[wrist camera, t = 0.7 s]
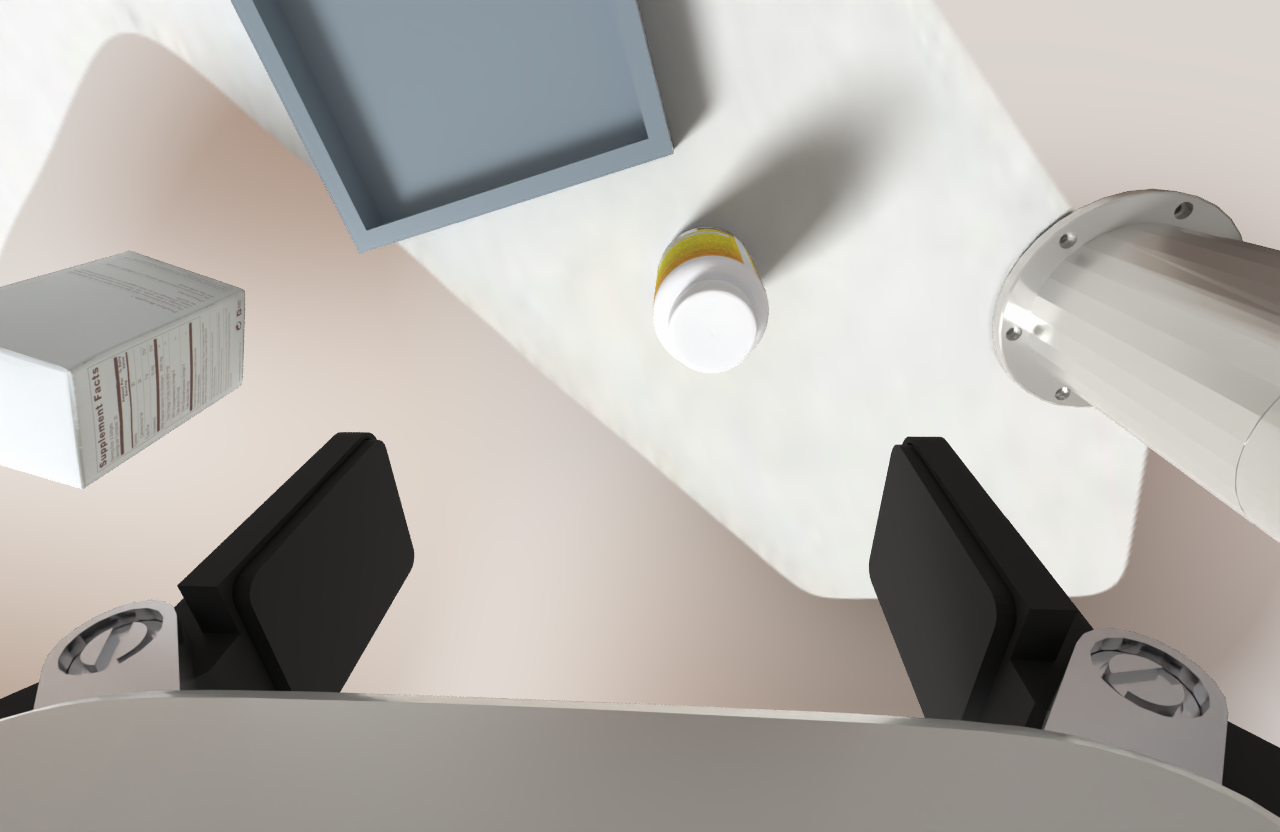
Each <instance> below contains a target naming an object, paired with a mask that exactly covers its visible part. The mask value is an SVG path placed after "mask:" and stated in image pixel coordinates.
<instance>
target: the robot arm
mask: <svg viewBox="0 0 1280 832" xmlns="http://www.w3.org/2000/svg"><path fill="white" fill-rule="evenodd" d="M1062 236H1063V238H1062V239H1061V237H1062ZM1060 239H1061V240H1060ZM1009 329H1010V330H1009ZM1008 330H1009V331H1008ZM992 337H993V342H994V347H995V352H996V355H997V357H998V359H999V361H1000V364H1001V366H1002V368H1003V369H1004V370H1005V372H1006V373H1007V374H1008V375H1009V376H1010V377H1011V379H1012V380H1013V381H1014V382H1015V383H1017V384H1018V385H1019V386H1020V387H1022V388H1023V389H1024V390H1025V391H1026V392H1028V393H1030V394H1031V395H1033V396H1035V397H1037V398H1039V399H1040V400H1043V401H1046V402H1049V403H1052V404H1055V405H1060V406H1069V407H1095V408H1096V409H1098V410H1099V411H1100V412H1102V413H1103V414H1105V415H1106V416H1107V417H1109V418H1110V419H1111V420H1113V421H1114V422H1115V423H1117V424H1118V425H1119V426H1121V427H1122V428H1124V429H1125V430H1126V431H1128V432H1129V433H1130V434H1132V435H1133V436H1134V437H1136V438H1137V439H1138V440H1140V441H1141V442H1143V443H1144V444H1145V445H1147V446H1148V447H1149V448H1151V449H1152V450H1153V451H1155V452H1156V453H1157V454H1159V455H1160V456H1162V457H1163V458H1164V459H1166V460H1167V461H1168V462H1170V463H1171V464H1173V465H1174V466H1175V467H1176V468H1178V469H1179V470H1181V471H1182V472H1183V473H1185V474H1186V475H1187V476H1189V477H1190V478H1192V479H1193V480H1194V481H1195V482H1197V483H1198V484H1199V485H1201V486H1202V487H1204V488H1205V489H1206V490H1208V491H1209V492H1211V493H1212V494H1213V495H1214V496H1216V497H1217V498H1218V499H1220V500H1221V501H1222V502H1224V503H1225V504H1227V505H1228V506H1229V507H1231V508H1232V509H1233V510H1235V511H1236V512H1238V513H1239V514H1240V515H1242V516H1243V517H1244V518H1246V519H1247V520H1248V521H1250V522H1251V523H1252V524H1254V525H1255V526H1257V527H1258V528H1260V529H1261V530H1262V531H1264V532H1265V533H1267V534H1268V535H1269V536H1271V537H1272V538H1274V539H1275V540H1276V541H1278V542H1279V543H1280V251H1279V250H1275V249H1271V248H1267V247H1263V246H1259V245H1255V244H1251V243H1247V242H1243V241H1242V237H1241V234H1240V232H1239V231H1238V229H1237V228H1236V226H1235V224H1234V223H1233V221H1232V219H1231V218H1230V217H1229V216H1228V215H1227V214H1225V213H1224V212H1223V211H1222V210H1221V209H1220V208H1219V207H1218V206H1216V205H1215V204H1213V203H1210V202H1208V201H1206V200H1204V199H1202V198H1200V197H1198V196H1194V195H1190V194H1185V193H1181V192H1177V191H1168V190H1158V189H1147V190H1136V191H1127V192H1123V193H1120V194H1116V195H1112V196H1108V197H1105V198H1102V199H1100V200H1098V201H1095V202H1093V203H1091V204H1088V205H1086V206H1084V207H1081V208H1079V209H1078V210H1076V211H1074V212H1073V213H1071V214H1070V215H1068V216H1066V217H1065V218H1063V219H1062V220H1060V221H1058V222H1057V223H1055V224H1054V225H1053V226H1052V227H1051V228H1050V229H1048V230H1047V231H1046V232H1045V233H1044V234H1042V235H1041V236H1040V237H1039V238H1038V239H1036V241H1035V242H1034V243H1033V244H1032V245H1031V246H1030V247H1029V248H1028V249H1027V251H1026V252H1025V253H1024V254H1023V255H1022V256H1021V257H1020V258H1019V260H1018V261H1017V263H1016V265H1015V266H1014V268H1013V269H1012V271H1011V272H1010V274H1009V275H1008V277H1007V278H1006V281H1005V283H1004V285H1003V287H1002V290H1001V292H1000V294H999V296H998V299H997V303H996V307H995V311H994V315H993V331H992ZM413 562H414V549H413V545H412V542H411V538H410V534H409V531H408V527H407V524H406V520H405V516H404V512H403V509H402V505H401V501H400V497H399V494H398V490H397V487H396V483H395V479H394V475H393V472H392V468H391V464H390V461H389V457H388V453H387V450H386V447H385V444H384V443H383V442H382V441H380V440H377V439H376V437H375V436H374V435H373V434H371V433H363V432H362V433H360V432H353V433H352V432H341V433H337V434H336V435H334V436H333V437H332V438H331V439H330V440H329V441H328V442H327V443H326V444H325V445H324V446H323V447H322V448H321V449H320V450H319V451H318V452H317V453H315V454H314V455H313V456H312V457H311V458H310V459H309V460H308V461H307V462H306V463H305V464H304V465H303V466H302V467H301V468H300V469H299V470H298V471H297V472H296V473H295V474H293V476H291V477H290V478H289V479H288V480H287V481H286V482H285V483H284V484H283V485H282V486H281V487H280V488H279V489H278V490H277V491H276V492H275V493H274V494H273V495H271V496H270V497H269V498H268V499H267V500H266V501H265V502H264V503H263V504H262V505H261V506H260V507H259V508H258V509H257V510H256V511H255V512H254V513H253V514H252V515H251V516H250V517H248V518H247V519H246V520H245V521H244V522H243V523H242V524H241V525H240V526H239V527H238V528H237V529H236V530H235V531H234V532H233V533H232V534H231V535H230V536H229V537H228V538H227V539H225V540H224V541H223V542H222V543H221V544H220V545H219V546H218V547H217V548H216V549H215V550H214V551H213V552H212V553H211V554H210V555H209V556H208V557H207V558H206V559H205V560H203V561H202V562H201V563H200V564H199V565H198V566H197V567H196V568H195V569H194V570H193V571H192V572H191V573H190V574H189V575H188V576H187V577H186V578H185V579H184V580H183V581H182V582H181V583H179V584H178V588H179V590H180V591H181V593H182V595H183V597H184V598H183V599H182V600H181V601H180V602H179V603H178V604H177V606H175V607H173V606H172V605H170V604H168V603H166V602H164V601H155V600H147V601H140V602H133V603H130V604H127V605H123V606H120V607H117V608H114V609H112V610H109V611H107V612H105V613H103V614H101V615H98V616H96V617H94V618H92V619H91V620H89V621H87V622H86V623H84V624H82V625H81V626H79V627H77V628H76V629H74V630H73V631H72V632H71V633H70V634H68V635H67V636H66V637H64V638H63V639H62V640H61V641H60V642H59V643H58V644H57V645H56V646H55V647H54V648H53V650H52V651H51V652H50V653H49V654H48V656H47V658H46V660H45V662H44V664H43V667H42V671H41V676H40V680H39V682H38V683H36V684H34V685H31V686H29V687H27V688H24V689H22V690H20V691H18V692H15V693H13V694H11V695H9V696H6V697H4V698H2V699H0V832H1280V748H1279V747H1277V746H1275V745H1273V744H1271V743H1269V742H1267V741H1265V740H1263V739H1261V738H1260V737H1258V736H1256V735H1254V734H1252V733H1250V732H1248V731H1246V730H1244V729H1242V728H1240V727H1238V726H1236V725H1234V724H1232V723H1230V722H1228V721H1227V719H1228V709H1227V704H1226V699H1225V696H1224V695H1223V693H1222V692H1221V690H1220V689H1219V687H1218V686H1217V684H1216V683H1215V681H1214V680H1213V679H1212V678H1211V677H1210V676H1209V675H1208V674H1207V673H1206V672H1205V671H1204V670H1203V669H1202V668H1201V667H1200V666H1199V665H1197V664H1196V663H1194V662H1193V661H1192V660H1190V659H1189V658H1187V657H1186V656H1185V655H1183V654H1181V653H1180V652H1179V651H1177V650H1175V649H1173V648H1171V647H1169V646H1167V645H1166V644H1164V643H1162V642H1160V641H1158V640H1156V639H1153V638H1150V637H1147V636H1144V635H1141V634H1139V633H1136V632H1131V631H1126V630H1120V629H1115V628H1109V629H1107V628H1106V629H1095V630H1094V629H1093V628H1092V627H1091V625H1090V624H1089V623H1088V622H1087V620H1086V619H1085V618H1084V617H1083V615H1082V614H1081V613H1080V611H1079V610H1078V609H1077V608H1076V606H1075V605H1074V604H1073V602H1072V601H1071V600H1070V598H1069V597H1068V596H1067V595H1066V593H1065V592H1064V591H1063V589H1062V588H1061V587H1060V586H1059V584H1058V583H1057V582H1056V580H1055V579H1054V578H1053V577H1052V575H1051V574H1050V573H1049V572H1048V570H1047V569H1046V568H1045V566H1044V565H1043V564H1042V563H1041V561H1040V560H1039V559H1038V557H1037V556H1036V555H1035V554H1034V552H1033V551H1032V550H1031V548H1030V547H1029V546H1028V545H1027V543H1026V542H1025V541H1024V539H1023V538H1022V537H1021V536H1020V534H1019V533H1018V532H1017V530H1016V529H1015V528H1014V527H1013V525H1012V524H1011V523H1010V521H1009V520H1008V519H1007V518H1006V517H1005V516H1004V514H1003V513H1002V512H1001V511H1000V509H999V508H998V507H997V505H996V504H995V503H994V502H993V500H992V499H991V498H990V496H989V495H988V494H987V493H986V491H985V490H984V489H983V487H982V486H981V485H980V484H979V482H978V481H977V480H976V478H975V477H974V476H973V475H972V473H971V472H970V471H969V469H968V468H967V467H966V466H965V464H964V463H963V462H962V460H961V459H960V458H959V457H958V455H957V454H956V453H955V451H954V450H953V449H952V448H951V446H950V445H949V444H948V442H947V441H946V440H945V439H944V438H943V437H907V438H905V440H904V442H903V444H902V445H895V446H894V447H893V449H892V453H891V457H890V462H889V467H888V472H887V477H886V482H885V487H884V491H883V496H882V501H881V506H880V511H879V516H878V521H877V526H876V530H875V535H874V540H873V545H872V550H871V555H870V560H869V573H870V579H871V582H872V584H873V587H874V590H875V592H876V595H877V597H878V600H879V602H880V605H881V607H882V610H883V612H884V615H885V617H886V620H887V622H888V625H889V628H890V630H891V633H892V635H893V638H894V640H895V643H896V645H897V648H898V650H899V653H900V655H901V658H902V661H903V663H904V666H905V668H906V671H907V673H908V676H909V678H910V681H911V683H912V686H913V688H914V691H915V694H916V696H917V699H918V701H919V704H920V706H921V709H922V711H923V714H924V716H925V718H916V717H899V716H883V715H867V714H851V713H832V712H810V711H788V710H767V709H744V708H743V709H742V708H722V707H701V706H678V705H656V704H631V703H607V702H583V701H558V700H557V701H555V700H531V699H507V698H480V697H453V696H451V697H450V696H424V695H395V694H394V695H393V694H365V693H340V691H341V690H342V688H343V686H344V685H345V683H346V681H347V679H348V677H349V676H350V674H351V672H352V671H353V669H354V667H355V666H356V664H357V662H358V660H359V659H360V657H361V655H362V654H363V652H364V650H365V648H366V647H367V645H368V643H369V641H370V640H371V638H372V636H373V635H374V633H375V631H376V629H377V628H378V626H379V624H380V623H381V621H382V619H383V617H384V616H385V614H386V612H387V610H388V609H389V607H390V605H391V604H392V602H393V600H394V598H395V596H396V595H397V593H398V591H399V590H400V588H401V586H402V585H403V583H404V581H405V579H406V578H407V576H408V574H409V573H410V571H411V568H412V566H413Z"/></svg>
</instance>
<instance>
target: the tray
mask: <svg viewBox="0 0 1280 832" xmlns="http://www.w3.org/2000/svg"><path fill="white" fill-rule="evenodd" d="M231 2H232V4H233V6H234V8H235V10H236V12H237V14H238V16H239V18H240V20H241V22H242V24H243V26H244V28H245V30H246V32H247V34H248V36H249V37H250V39H251V41H252V43H253V45H254V47H255V49H256V51H257V53H258V55H259V57H260V59H261V61H262V63H263V65H264V67H265V69H266V71H267V73H268V75H269V77H270V79H271V81H272V83H273V85H274V87H275V89H276V91H277V92H278V94H279V96H280V98H281V100H282V102H283V104H284V106H285V108H286V110H287V112H288V114H289V116H290V118H291V120H292V122H293V124H294V126H295V128H296V130H297V132H298V134H299V136H300V138H301V140H302V142H303V144H304V146H305V147H306V149H307V151H308V153H309V155H310V157H311V159H312V161H313V163H314V165H315V167H316V169H317V171H318V173H319V175H320V177H321V179H322V181H323V183H324V185H325V187H326V189H327V191H328V192H329V195H330V197H331V199H332V200H333V203H334V204H335V206H336V208H337V210H338V212H339V214H340V216H341V218H342V220H343V222H344V224H345V226H346V228H347V230H348V232H349V234H350V236H351V238H352V240H353V242H354V244H355V246H356V248H357V250H358V252H359V253H363V252H367V251H370V250H373V249H376V248H379V247H382V246H385V245H388V244H391V243H395V242H398V241H401V240H404V239H407V238H410V237H414V236H417V235H420V234H423V233H426V232H429V231H432V230H436V229H439V228H442V227H445V226H448V225H451V224H454V223H458V222H461V221H464V220H467V219H470V218H473V217H476V216H480V215H483V214H486V213H489V212H492V211H495V210H498V209H501V208H505V207H508V206H511V205H514V204H517V203H520V202H523V201H527V200H530V199H533V198H536V197H539V196H542V195H545V194H549V193H552V192H555V191H558V190H561V189H564V188H567V187H571V186H574V185H577V184H580V183H583V182H586V181H589V180H593V179H596V178H599V177H602V176H605V175H608V174H611V173H614V172H618V171H621V170H624V169H627V168H630V167H633V166H636V165H640V164H643V163H646V162H649V161H652V160H655V159H658V158H662V157H665V156H668V155H671V154H673V153H674V148H673V144H672V139H671V135H670V131H669V127H668V123H667V119H666V115H665V111H664V107H663V103H662V99H661V95H660V91H659V87H658V83H657V79H656V75H655V71H654V67H653V63H652V59H651V54H650V50H649V46H648V42H647V38H646V34H645V30H644V26H643V22H642V18H641V14H640V10H639V6H638V2H637V0H231Z"/></svg>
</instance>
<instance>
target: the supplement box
mask: <svg viewBox="0 0 1280 832" xmlns="http://www.w3.org/2000/svg"><path fill="white" fill-rule="evenodd" d="M244 319H245V291H244V290H243V289H241V288H238V287H235V286H232V285H229V284H226V283H223V282H221V281H217V280H214V279H212V278H209V277H206V276H203V275H200V274H197V273H194V272H191V271H188V270H185V269H182V268H179V267H176V266H173V265H170V264H167V263H164V262H161V261H158V260H155V259H152V258H150V257H147V256H144V255H141V254H138V253H135V252H132V251H127V252H125V253H121V254H117V255H114V256H110V257H107V258H103V259H99V260H95V261H92V262H89V263H85V264H81V265H78V266H74V267H71V268H68V269H63V270H60V271H56V272H53V273H49V274H46V275H42V276H38V277H34V278H31V279H27V280H24V281H20V282H17V283H13V284H10V285H6V286H2V287H0V465H2V466H5V467H9V468H12V469H16V470H19V471H22V472H26V473H29V474H33V475H36V476H39V477H43V478H46V479H49V480H53V481H56V482H59V483H63V484H66V485H69V486H73V487H76V488H79V489H84V488H85V487H87V486H88V485H89V484H91V483H93V482H94V481H96V480H97V479H99V478H100V477H102V476H103V475H105V474H106V473H108V472H110V471H111V470H113V469H114V468H116V467H117V466H119V465H120V464H121V463H123V462H125V461H126V460H128V459H129V458H131V457H132V456H134V455H135V454H137V453H138V452H140V451H142V450H143V449H145V448H146V447H148V446H149V445H151V444H152V443H154V442H155V441H157V440H158V439H160V438H161V437H163V436H164V435H166V434H167V433H169V432H171V431H172V430H174V429H175V428H177V427H178V426H180V425H181V424H183V423H184V422H186V421H187V420H189V419H190V418H192V417H193V416H195V415H196V414H198V413H200V412H201V411H203V410H204V409H206V408H207V407H209V406H210V405H212V404H214V403H215V402H217V401H218V400H220V399H221V398H223V397H224V396H226V395H227V394H229V393H230V392H232V391H233V390H235V389H236V388H238V387H239V386H240V385H241V384H242V377H243V376H242V375H243V352H244Z"/></svg>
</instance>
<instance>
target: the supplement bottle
mask: <svg viewBox="0 0 1280 832" xmlns="http://www.w3.org/2000/svg"><path fill="white" fill-rule="evenodd" d="M768 315H769V306H768V299H767V295H766V291H765V289H764V286H763V284H762V282H761V280H760V277H759V275H758V273H757V270H756V268H755V266H754V264H753V261H752V260H751V257H750V255H749V253H748V251H747V250H746V248H745V247H744V245H743V244H742V243H741V242H740V241H739V240H738V239H737V238H736V237H735V236H734V235H732V234H731V233H729V232H727V231H724V230H722V229H719V228H714V227H699V228H694V229H691V230H688V231H686V232H684V233H682V234H681V235H679V236H678V237H676V238H675V239H674V240H673V241H672V242H671V243H670V244H669V245H668V247H667V248H666V249H665V251H664V253H663V255H662V257H661V260H660V263H659V266H658V272H657V280H656V288H655V296H654V303H653V322H654V327H655V331H656V334H657V336H658V338H659V340H660V342H661V343H662V345H663V346H664V348H665V349H666V350H667V351H668V352H669V353H670V354H671V355H672V356H674V357H675V358H676V359H678V360H679V361H681V362H682V363H683V364H685V365H686V366H688V367H690V368H691V369H693V370H696V371H699V372H704V373H719V372H723V371H727V370H729V369H731V368H734V367H735V366H737V365H738V364H740V363H741V362H742V361H743V360H744V359H745V358H746V357H747V356H748V355H749V354H750V352H751V351H752V350H753V349H754V348H755V347H756V345H757V344H758V343H759V341H760V340H761V338H762V336H763V334H764V331H765V329H766V326H767V322H768Z"/></svg>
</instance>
